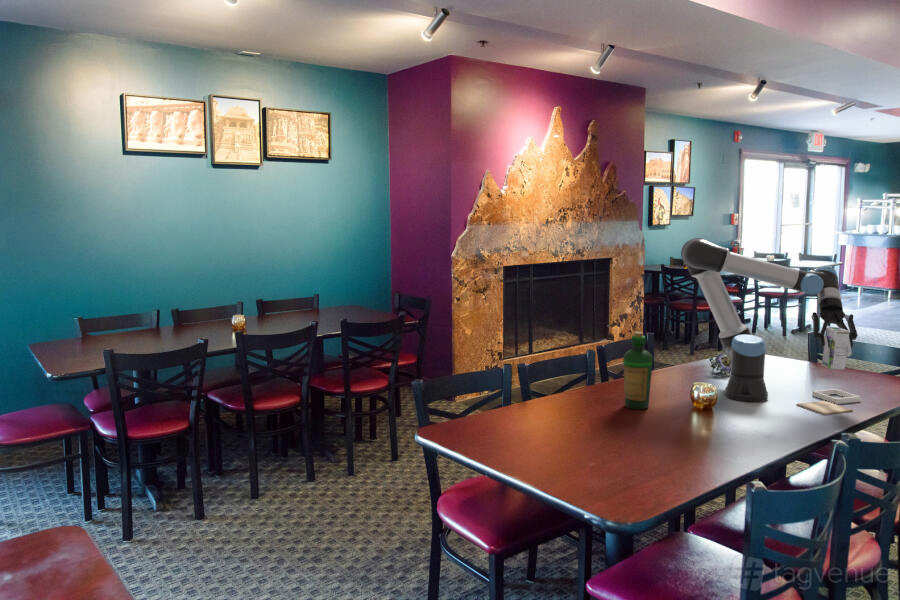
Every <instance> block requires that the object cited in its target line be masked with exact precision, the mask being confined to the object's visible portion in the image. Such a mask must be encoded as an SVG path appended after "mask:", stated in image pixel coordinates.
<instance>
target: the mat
mask: <svg viewBox="0 0 900 600" xmlns="http://www.w3.org/2000/svg"><path fill="white" fill-rule="evenodd" d="M797 405H798V407H800V406H801V407H800V408H802V407H804V408H803V409H805V408H807V409H806V410H808V409H809V410H808V411H811V410H812V411H811V412H814V411H815V412H814V413H816V414H819V413H820V415H822V414H823V416H826V415H827V414H828V415H835V414H843V413H850V412H853V411H854V410H853V409H851V408H848V407H845V406H843V405H841V404H834V403H831V402H828V401H825V400H819V401H817V400H816V401H811V402H810V401H809V402H801V403H796V406H797Z"/></svg>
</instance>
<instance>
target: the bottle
mask: <svg viewBox="0 0 900 600" xmlns="http://www.w3.org/2000/svg"><path fill="white" fill-rule="evenodd" d="M633 333H634V335H632V336H631V340H630V343H631V344H632V345H631V346H632V348H630V349H629V350H627V351H626V352H624V354H623V357H622V359H623V360H622V361H623V363H622V364H623V383H624V384H623V388H624V389H623V390H624V393H623V394H624V407H626V408H628V409H631V410H638V411H640V410H642V411H643V410H645V409H648V408H649V405H650V404H649V403H650V394H651V393H650V392H651V383H652V382H651V380H652V371H653V370H652V369H653V359H654V358H653V357H654V356H652V353H650V352H649V351H648V350H646V349H645V344H646V343H647V340H646V335H644V332H643V331H634V332H633Z"/></svg>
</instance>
